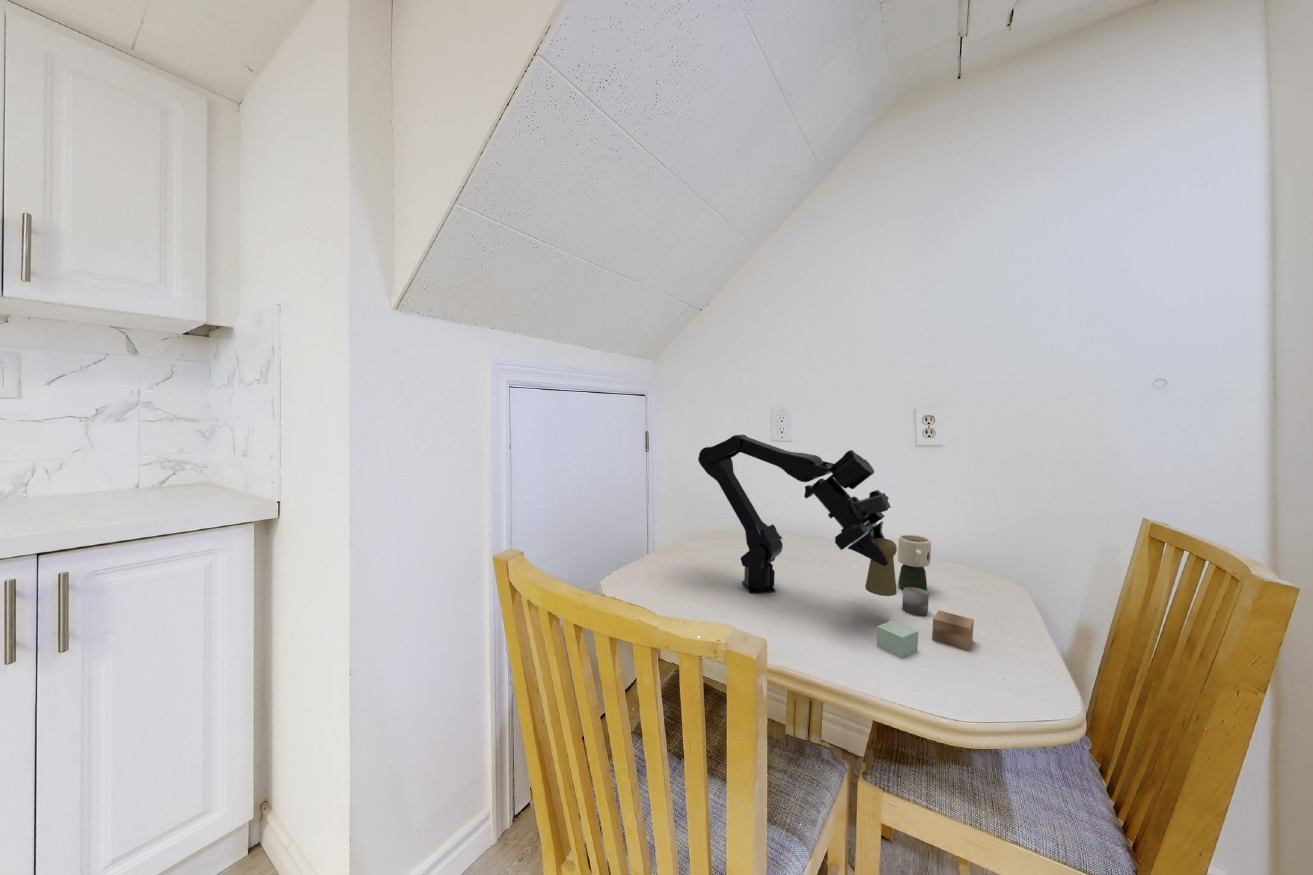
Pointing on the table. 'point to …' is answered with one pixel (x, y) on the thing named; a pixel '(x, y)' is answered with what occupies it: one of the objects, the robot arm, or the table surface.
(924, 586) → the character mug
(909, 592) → the grey short cylinder
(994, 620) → the table surface
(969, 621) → the walnut block
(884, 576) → the olive pawn
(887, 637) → the sage block
